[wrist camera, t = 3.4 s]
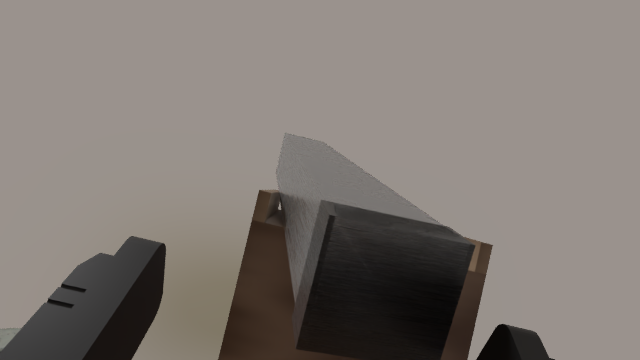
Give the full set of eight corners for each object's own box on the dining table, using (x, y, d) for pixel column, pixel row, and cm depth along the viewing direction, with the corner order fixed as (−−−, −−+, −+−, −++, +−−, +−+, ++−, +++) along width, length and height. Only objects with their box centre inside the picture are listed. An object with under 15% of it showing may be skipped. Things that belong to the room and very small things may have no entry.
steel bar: (295, 349, 11) (329, 214, 10) (274, 171, 38) (283, 132, 37) (436, 370, 11) (475, 245, 11) (315, 180, 38) (324, 142, 38)
